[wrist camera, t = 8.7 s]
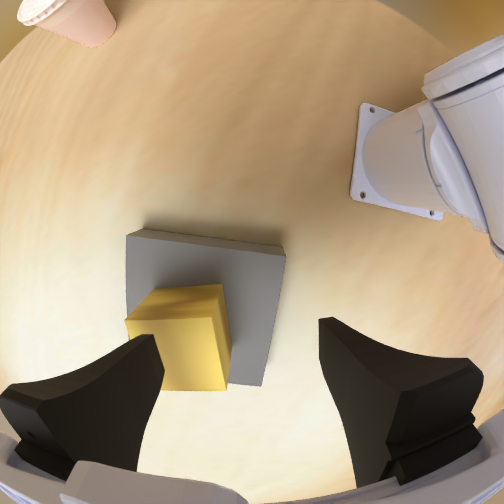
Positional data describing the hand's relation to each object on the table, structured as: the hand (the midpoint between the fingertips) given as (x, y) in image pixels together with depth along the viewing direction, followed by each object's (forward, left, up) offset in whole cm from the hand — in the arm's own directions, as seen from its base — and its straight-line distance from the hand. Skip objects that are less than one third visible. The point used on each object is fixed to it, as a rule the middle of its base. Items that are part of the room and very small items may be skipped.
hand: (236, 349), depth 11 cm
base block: (+3, +3, -11) cm, 12 cm away
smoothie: (+17, -21, -11) cm, 29 cm away
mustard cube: (+3, +3, -8) cm, 9 cm away
